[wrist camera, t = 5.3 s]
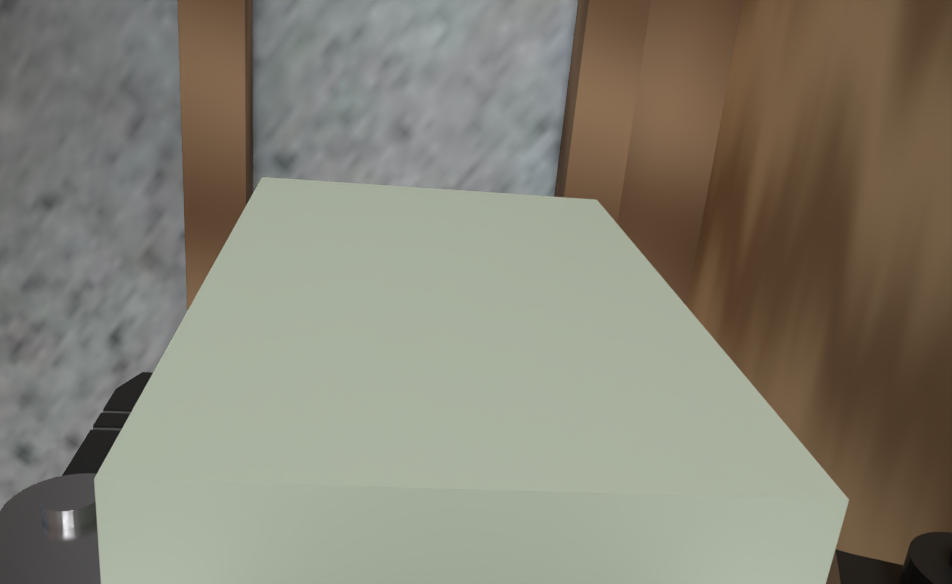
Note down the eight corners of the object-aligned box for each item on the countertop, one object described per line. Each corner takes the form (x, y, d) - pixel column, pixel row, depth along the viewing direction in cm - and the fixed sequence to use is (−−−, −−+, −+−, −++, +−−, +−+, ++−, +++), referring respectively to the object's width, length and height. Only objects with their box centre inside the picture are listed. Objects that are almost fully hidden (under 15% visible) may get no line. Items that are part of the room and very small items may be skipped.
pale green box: (251, 175, 13) (68, 478, 6) (596, 200, 14) (850, 499, 6) (249, 523, 15) (115, 1082, 8) (549, 531, 16) (694, 1054, 8)
